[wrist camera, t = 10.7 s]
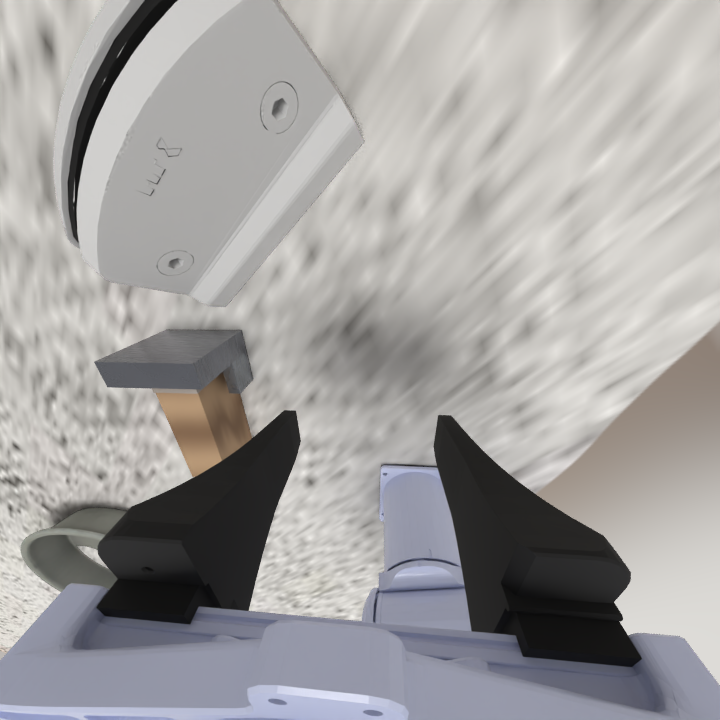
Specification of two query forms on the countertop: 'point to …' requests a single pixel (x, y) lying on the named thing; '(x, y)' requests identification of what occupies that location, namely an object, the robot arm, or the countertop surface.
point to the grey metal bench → (180, 361)
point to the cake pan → (71, 549)
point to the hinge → (194, 142)
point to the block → (205, 422)
